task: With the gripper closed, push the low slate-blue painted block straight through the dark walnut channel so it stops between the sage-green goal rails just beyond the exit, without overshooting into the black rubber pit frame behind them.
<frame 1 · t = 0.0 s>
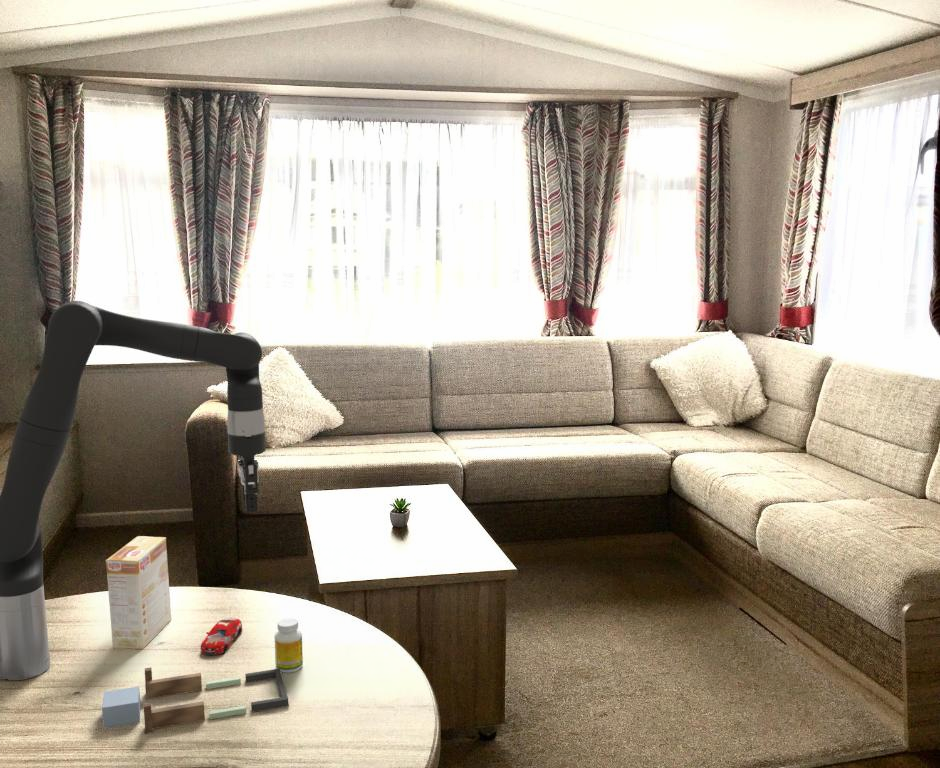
hand: (249, 505, 190), 29 cm above the table, fingers open, 8 cm apart
block: (122, 717, 163), on the table
goal rails: (225, 699, 169), on the table
supplement bottle: (289, 668, 181), on the table
channel: (174, 707, 166), on the table
pit frame: (263, 693, 171), on the table
coffeecake box: (142, 634, 197), on the table
race car: (222, 644, 192), on the table
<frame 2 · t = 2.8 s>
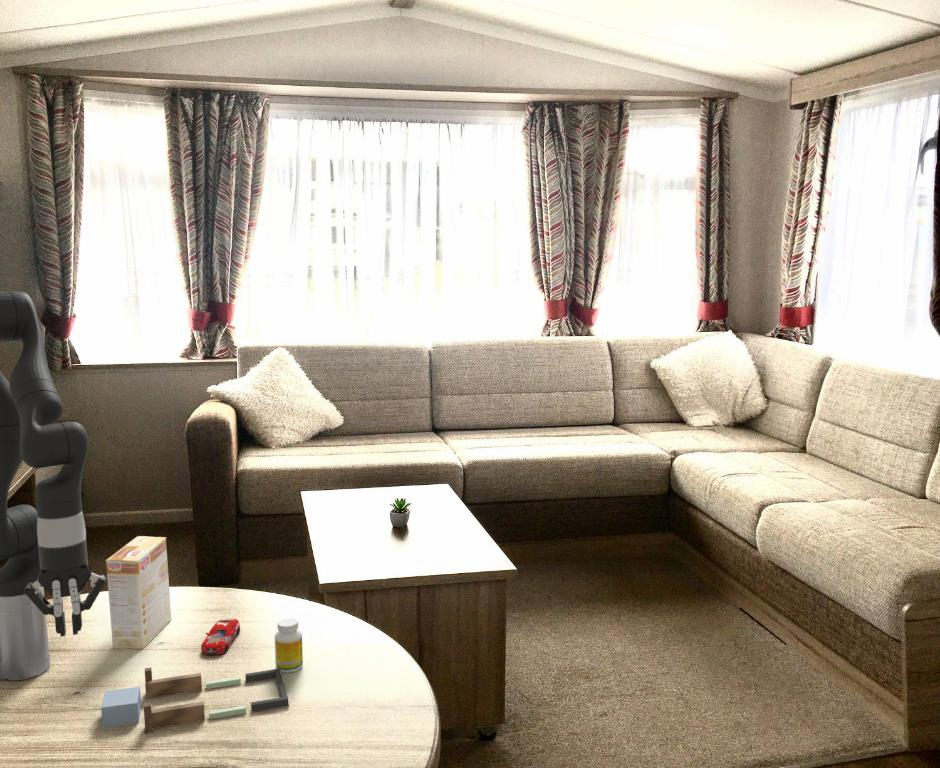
hand: (69, 633, 158), 17 cm above the table, fingers closed
nothing on the table moved.
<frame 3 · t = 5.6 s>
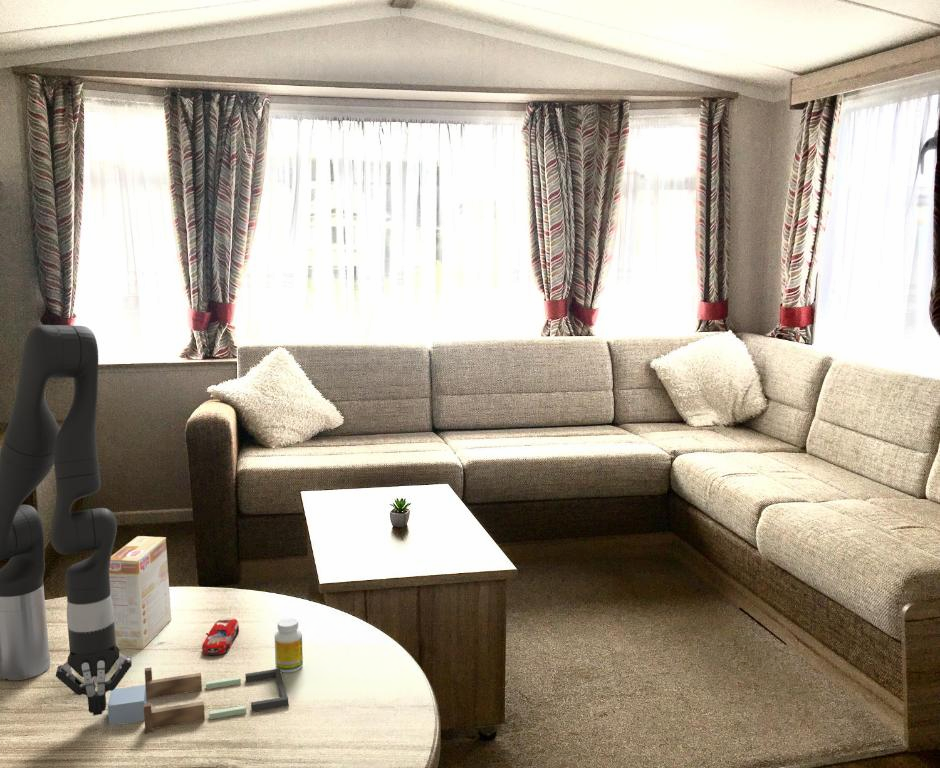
hand: (98, 712, 161), 2 cm above the table, fingers closed
block: (128, 715, 164), on the table, touching gripper
everything else where it was.
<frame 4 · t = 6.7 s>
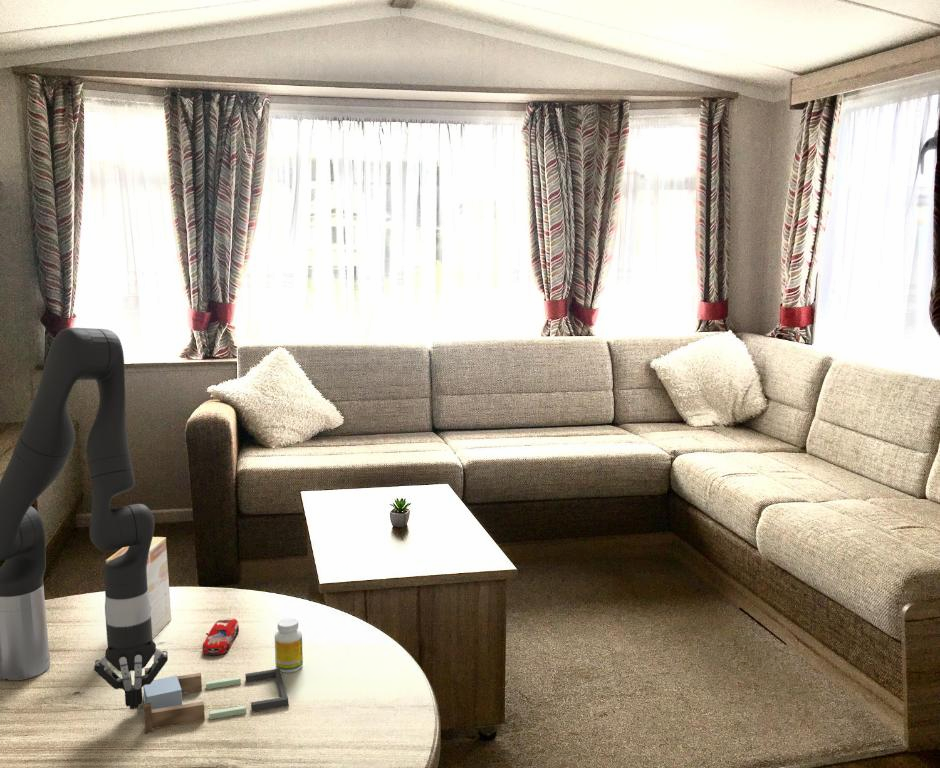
hand: (134, 706, 163), 2 cm above the table, fingers closed
block: (163, 706, 167), on the table, touching gripper
everything else where it was.
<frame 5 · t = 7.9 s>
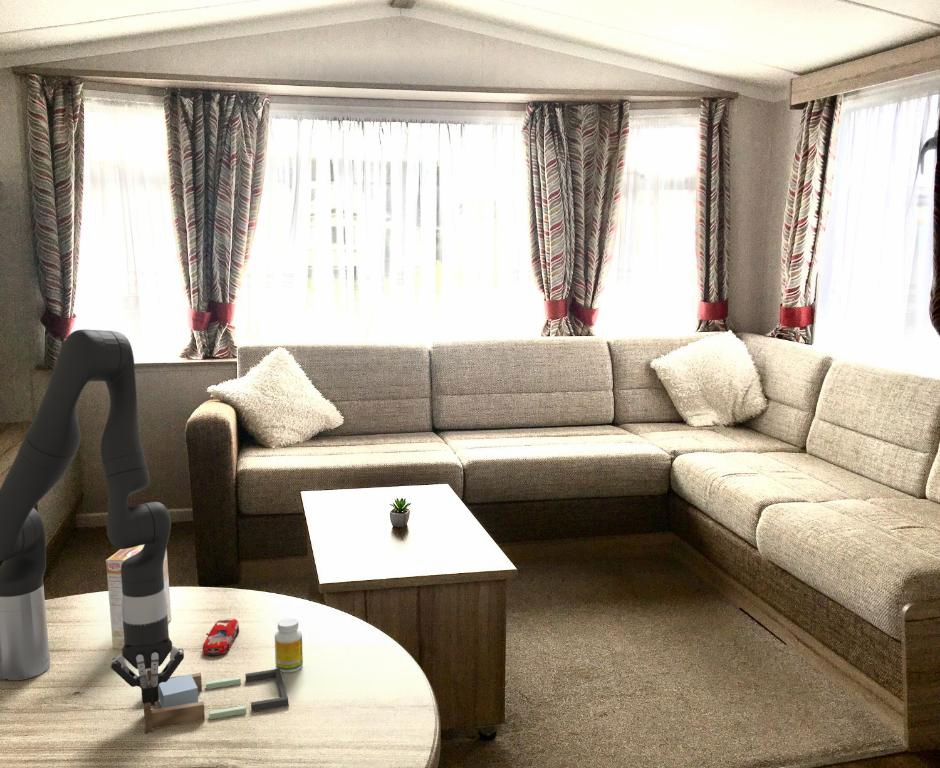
hand: (151, 704, 164), 2 cm above the table, fingers closed
block: (178, 704, 167), on the table
everything else where it was.
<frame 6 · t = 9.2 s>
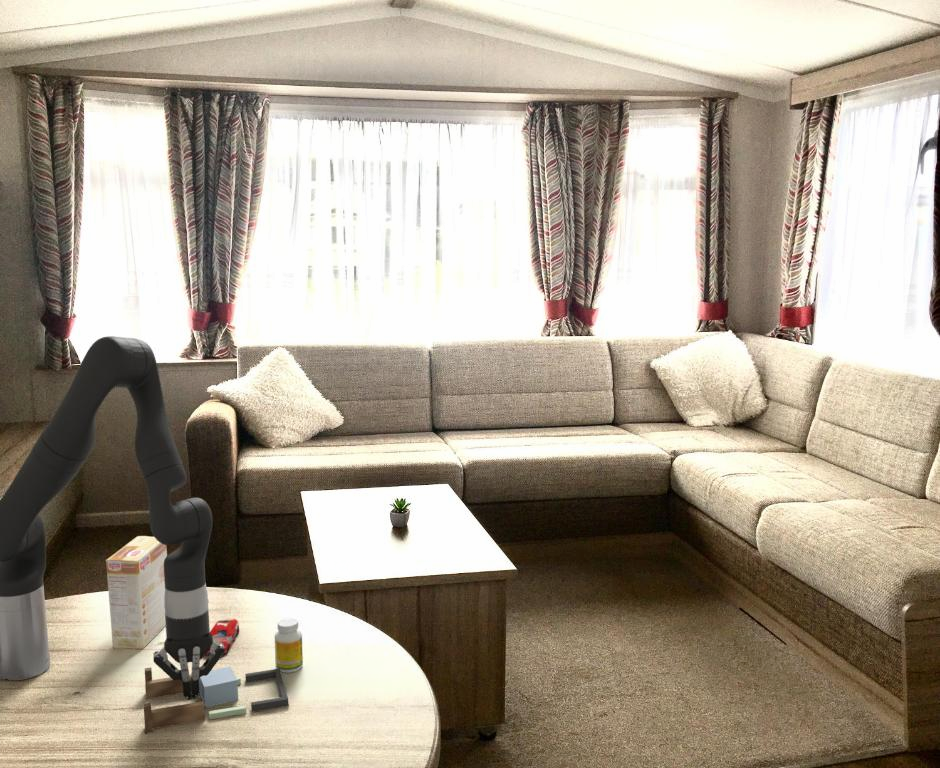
hand: (191, 697, 166), 2 cm above the table, fingers closed
block: (218, 696, 170), on the table, touching gripper
everything else where it was.
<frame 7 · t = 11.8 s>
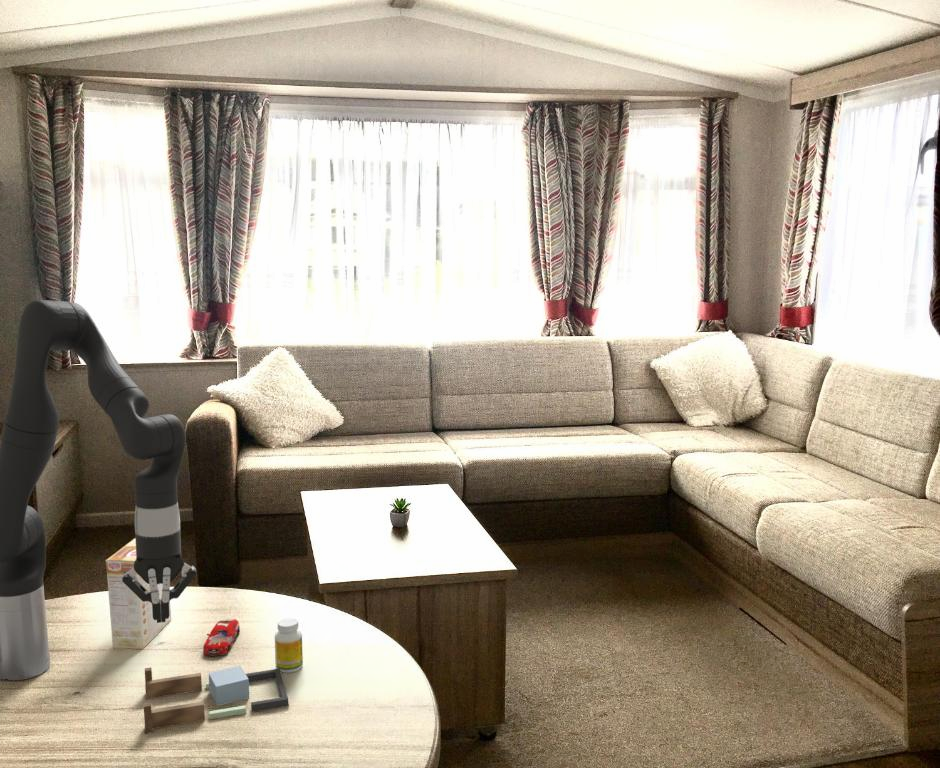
hand: (161, 620, 162), 17 cm above the table, fingers closed
block: (229, 695, 170), on the table
everything else where it was.
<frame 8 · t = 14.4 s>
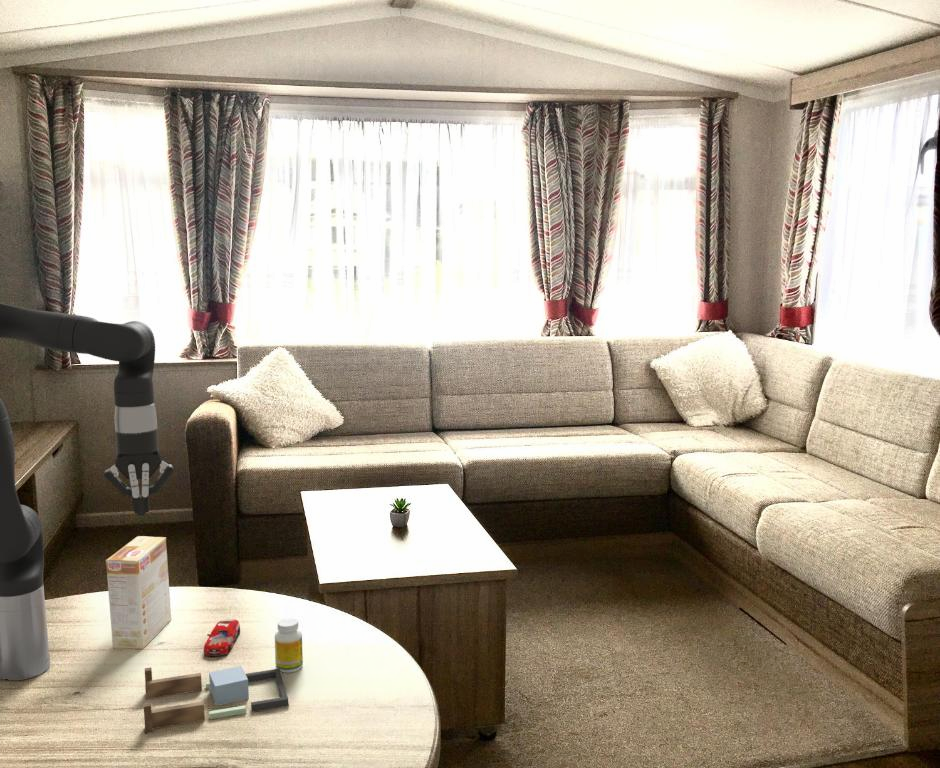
hand: (142, 514, 175), 32 cm above the table, fingers closed
nothing on the table moved.
at the end: block inside the target area (1.8 cm from its centre), on the table; block tilted 0° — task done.
